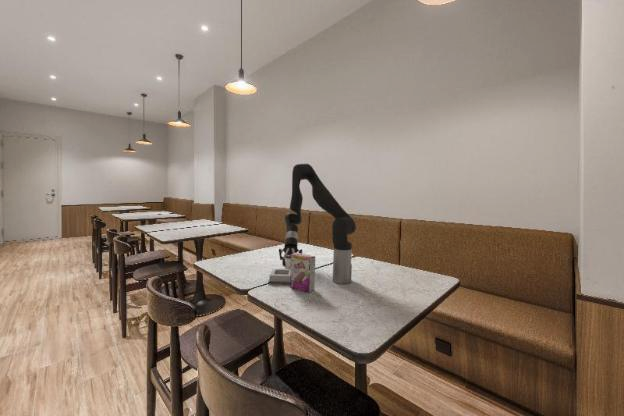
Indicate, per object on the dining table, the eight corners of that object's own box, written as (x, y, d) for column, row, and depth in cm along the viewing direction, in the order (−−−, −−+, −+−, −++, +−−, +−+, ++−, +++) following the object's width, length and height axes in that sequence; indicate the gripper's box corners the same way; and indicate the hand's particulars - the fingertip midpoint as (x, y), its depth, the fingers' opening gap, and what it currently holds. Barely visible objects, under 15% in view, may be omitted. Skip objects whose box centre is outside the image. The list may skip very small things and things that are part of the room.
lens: (294, 271, 153) (294, 254, 153) (293, 274, 148) (294, 256, 147) (285, 271, 153) (285, 253, 153) (284, 274, 148) (284, 256, 147)
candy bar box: (289, 287, 129) (290, 254, 127) (295, 284, 133) (296, 252, 132) (309, 293, 123) (310, 258, 121) (314, 289, 127) (315, 255, 126)
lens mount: (294, 276, 145) (294, 268, 144) (292, 284, 133) (292, 276, 132) (271, 275, 145) (271, 268, 144) (268, 284, 133) (268, 275, 132)
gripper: (278, 236, 157) (275, 262, 146) (303, 237, 157) (302, 263, 146) (279, 243, 162) (276, 269, 151) (303, 244, 162) (302, 269, 151)
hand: (289, 266), depth 149 cm, fingers closed on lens, 5 cm apart
